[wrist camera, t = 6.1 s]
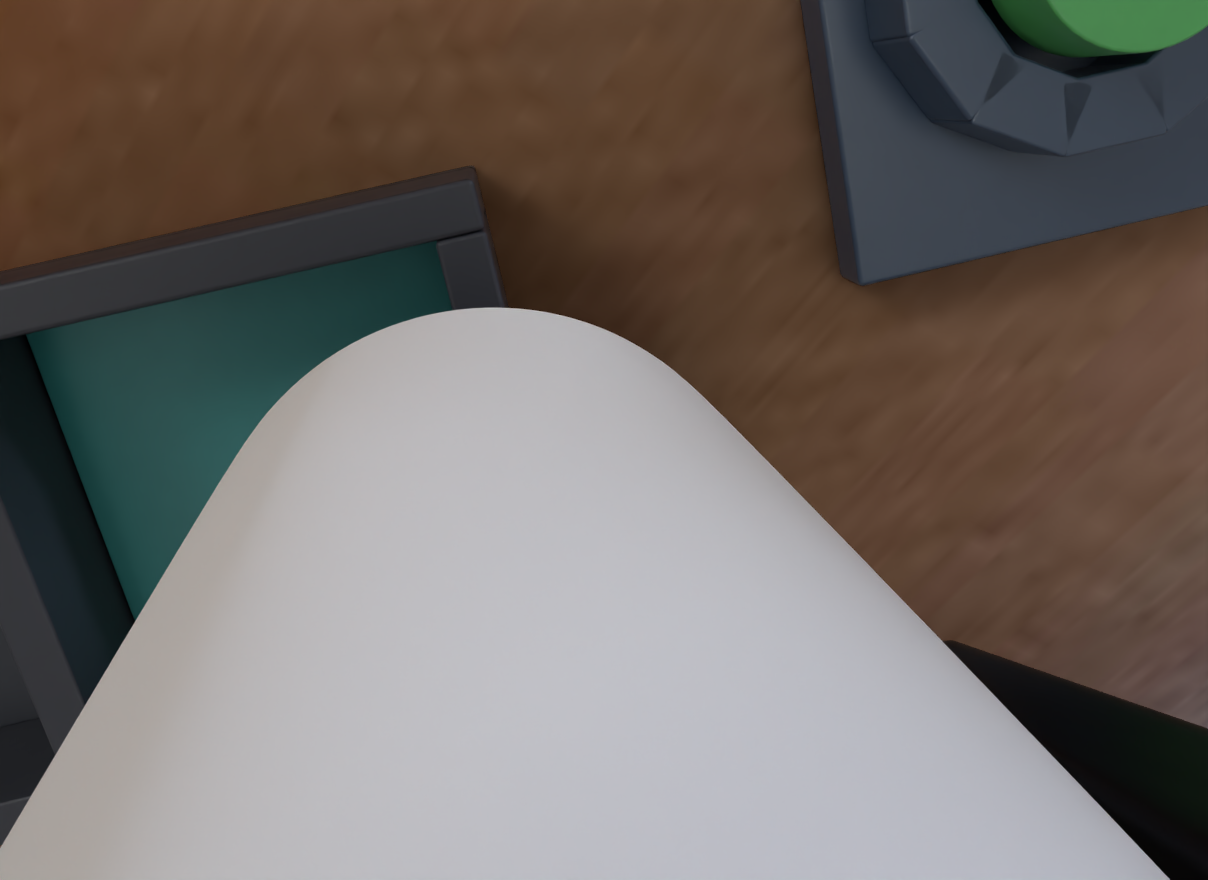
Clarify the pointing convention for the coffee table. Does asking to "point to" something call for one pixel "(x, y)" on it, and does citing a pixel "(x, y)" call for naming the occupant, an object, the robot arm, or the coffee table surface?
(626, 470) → the can
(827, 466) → the coffee table surface
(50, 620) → the divided tray
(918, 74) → the grey button base
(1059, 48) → the button
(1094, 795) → the robot arm
